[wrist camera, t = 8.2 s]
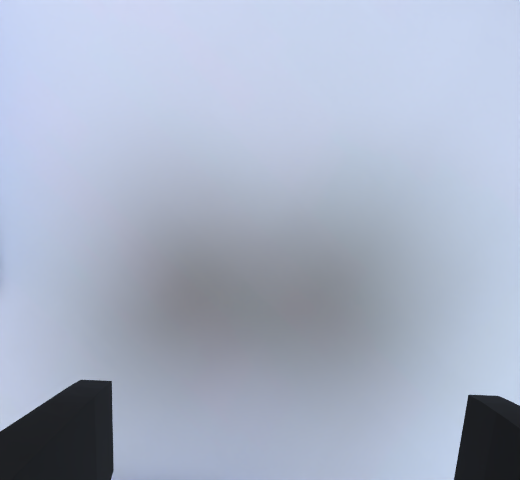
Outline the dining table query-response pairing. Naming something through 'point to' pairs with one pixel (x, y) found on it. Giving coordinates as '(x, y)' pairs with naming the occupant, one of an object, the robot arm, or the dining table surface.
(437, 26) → the dining table surface
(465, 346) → the dining table surface
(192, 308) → the dining table surface
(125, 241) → the dining table surface
